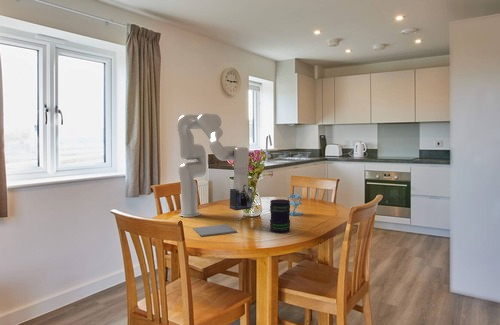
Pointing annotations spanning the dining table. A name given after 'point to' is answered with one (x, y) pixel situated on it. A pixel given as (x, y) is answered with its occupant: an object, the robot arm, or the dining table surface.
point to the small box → (236, 200)
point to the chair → (295, 204)
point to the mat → (214, 230)
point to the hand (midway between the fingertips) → (240, 204)
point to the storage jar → (280, 216)
